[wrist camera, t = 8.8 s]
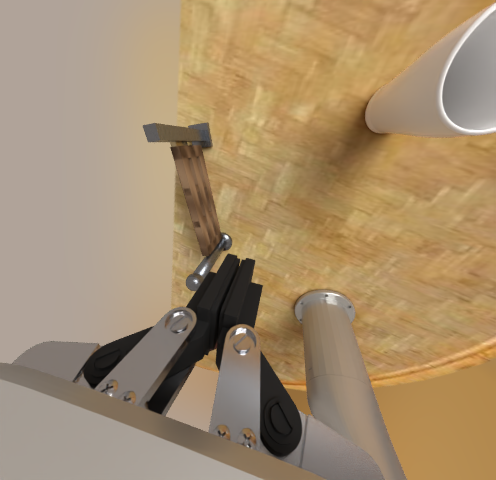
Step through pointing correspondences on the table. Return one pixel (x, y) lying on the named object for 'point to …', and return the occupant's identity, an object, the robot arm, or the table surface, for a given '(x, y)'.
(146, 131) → the post
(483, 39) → the drinking glass
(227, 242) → the hinge post
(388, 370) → the table surface
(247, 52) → the table surface
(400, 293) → the table surface
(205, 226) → the gate
